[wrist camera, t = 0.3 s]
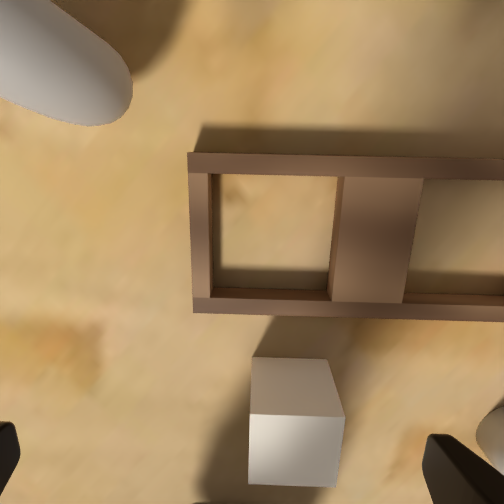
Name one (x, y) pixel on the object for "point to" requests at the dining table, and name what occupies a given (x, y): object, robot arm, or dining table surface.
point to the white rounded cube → (294, 423)
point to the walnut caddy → (342, 237)
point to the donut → (59, 66)
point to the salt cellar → (492, 438)
